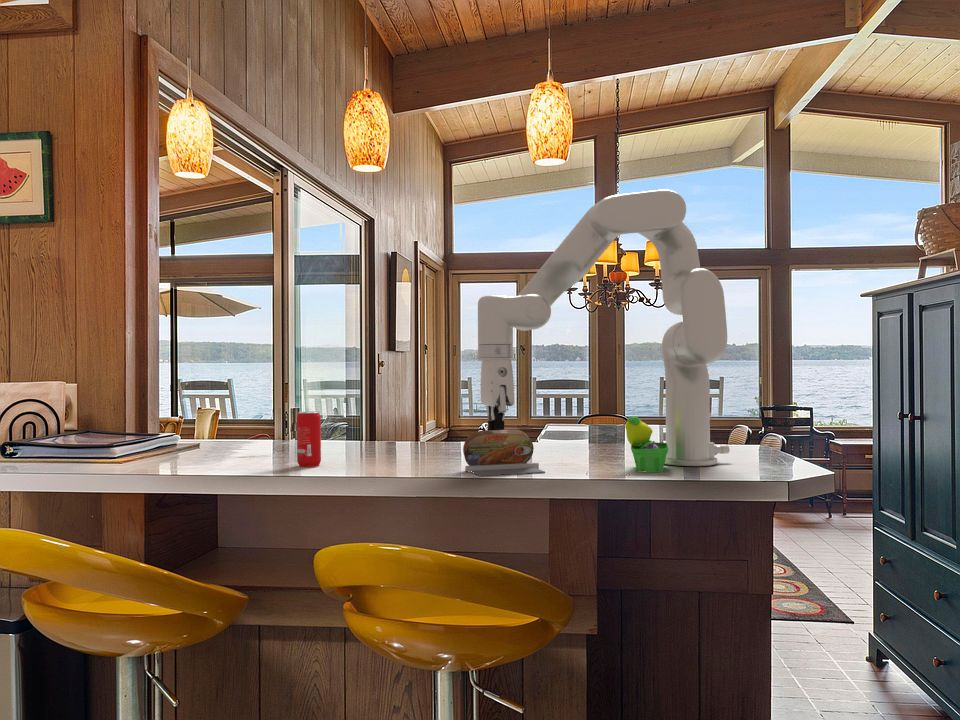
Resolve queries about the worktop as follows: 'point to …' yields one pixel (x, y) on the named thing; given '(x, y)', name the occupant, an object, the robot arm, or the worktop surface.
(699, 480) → the worktop surface
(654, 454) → the fruit basket
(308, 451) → the beverage can
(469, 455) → the tin
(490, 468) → the mat
